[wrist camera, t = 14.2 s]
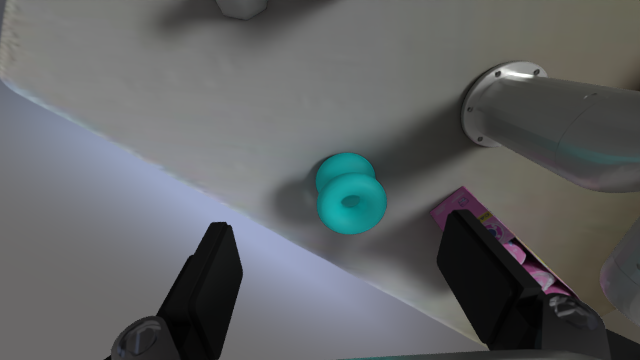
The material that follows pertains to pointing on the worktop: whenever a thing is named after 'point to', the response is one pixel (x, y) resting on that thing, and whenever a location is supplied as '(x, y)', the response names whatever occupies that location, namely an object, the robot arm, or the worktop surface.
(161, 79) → the worktop surface
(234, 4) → the flask
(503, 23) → the worktop surface
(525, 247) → the gum box
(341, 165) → the donuts
